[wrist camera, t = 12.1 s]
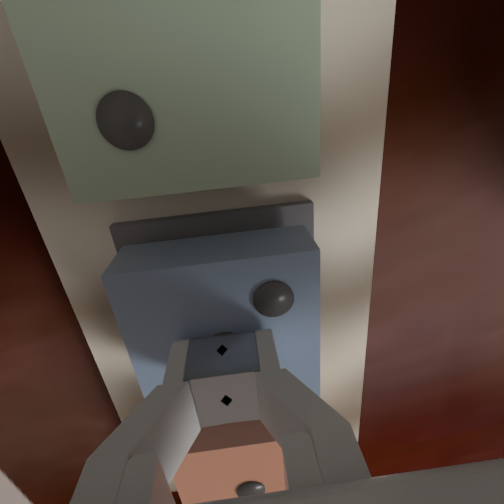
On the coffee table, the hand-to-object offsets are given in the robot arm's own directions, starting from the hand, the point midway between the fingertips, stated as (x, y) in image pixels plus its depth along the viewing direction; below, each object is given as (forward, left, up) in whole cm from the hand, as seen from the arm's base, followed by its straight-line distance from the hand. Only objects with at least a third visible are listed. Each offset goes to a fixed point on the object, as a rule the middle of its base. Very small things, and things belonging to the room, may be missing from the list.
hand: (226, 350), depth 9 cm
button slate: (0, 0, -2) cm, 2 cm away
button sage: (-8, 0, -2) cm, 8 cm away
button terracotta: (+8, 0, -2) cm, 8 cm away
